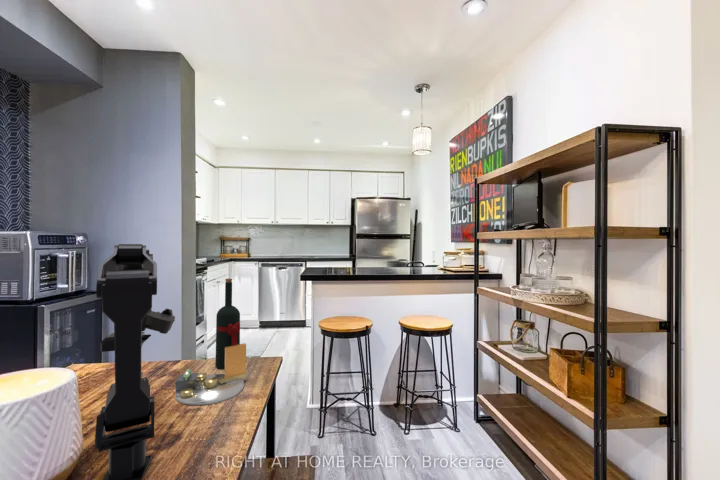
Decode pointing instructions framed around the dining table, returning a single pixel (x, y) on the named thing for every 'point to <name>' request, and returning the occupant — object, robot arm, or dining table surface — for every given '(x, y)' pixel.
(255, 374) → the dining table surface
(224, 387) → the levelling plate
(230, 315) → the wine bottle
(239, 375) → the lever
